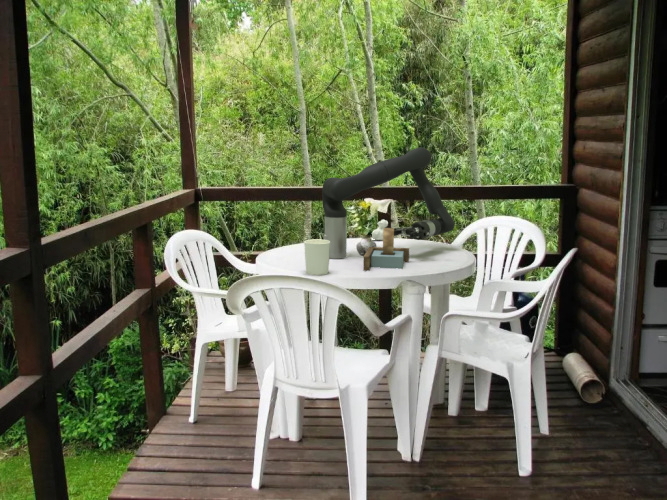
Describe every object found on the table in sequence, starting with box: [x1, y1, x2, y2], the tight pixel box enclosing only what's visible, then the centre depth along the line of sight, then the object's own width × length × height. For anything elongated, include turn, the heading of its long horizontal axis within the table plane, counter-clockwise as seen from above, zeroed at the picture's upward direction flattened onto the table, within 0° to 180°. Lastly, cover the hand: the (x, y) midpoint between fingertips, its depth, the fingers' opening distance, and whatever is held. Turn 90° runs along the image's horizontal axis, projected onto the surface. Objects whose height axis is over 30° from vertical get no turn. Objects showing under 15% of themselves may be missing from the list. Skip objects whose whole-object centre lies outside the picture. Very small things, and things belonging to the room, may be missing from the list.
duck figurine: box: [371, 219, 389, 242], centre depth 317 cm, size 12×8×11 cm
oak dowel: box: [382, 227, 395, 255], centre depth 261 cm, size 4×4×14 cm
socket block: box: [370, 250, 404, 270], centre depth 261 cm, size 12×12×5 cm
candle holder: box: [303, 238, 330, 276], centre depth 246 cm, size 10×10×12 cm
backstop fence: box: [363, 246, 410, 271], centre depth 260 cm, size 16×20×6 cm
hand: (401, 234), depth 267 cm, fingers open, 8 cm apart
